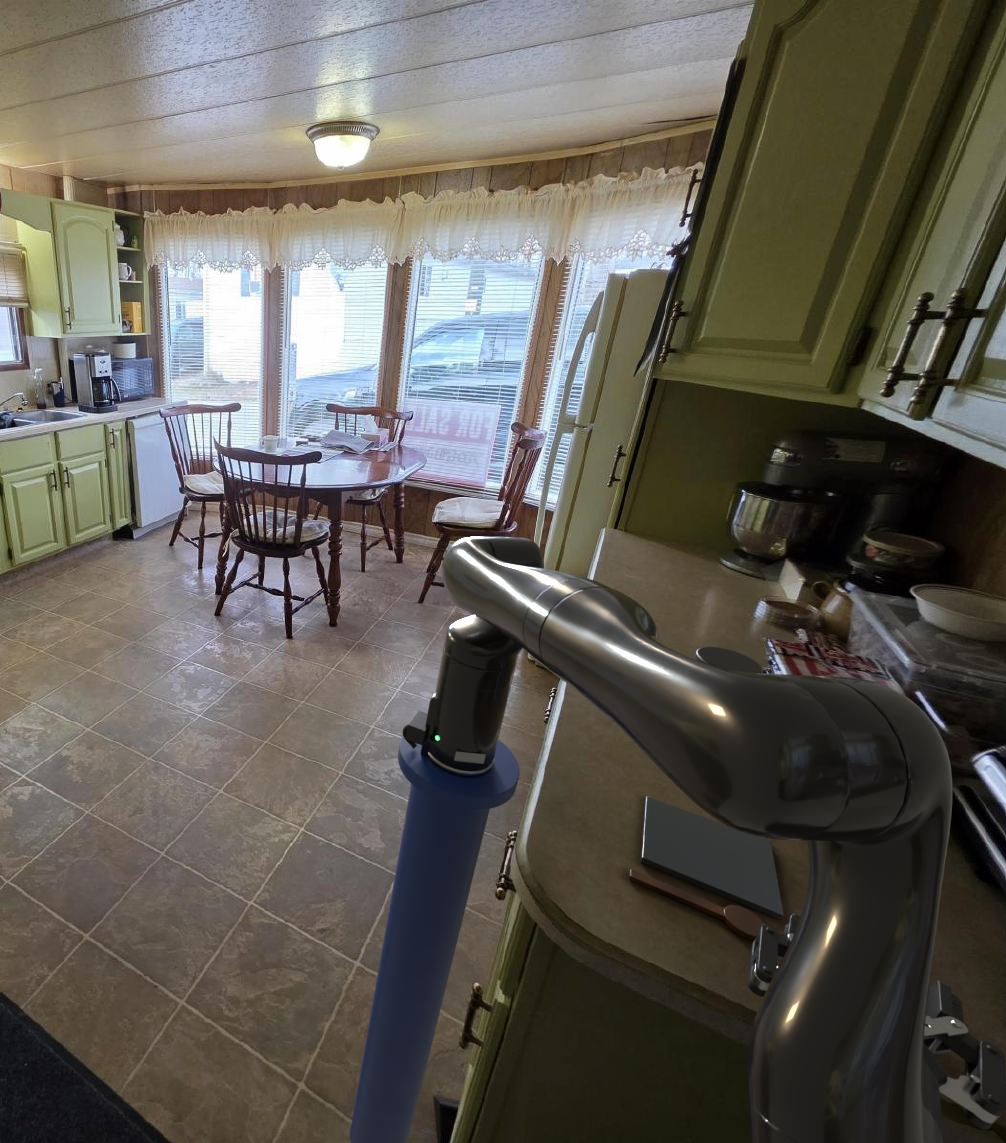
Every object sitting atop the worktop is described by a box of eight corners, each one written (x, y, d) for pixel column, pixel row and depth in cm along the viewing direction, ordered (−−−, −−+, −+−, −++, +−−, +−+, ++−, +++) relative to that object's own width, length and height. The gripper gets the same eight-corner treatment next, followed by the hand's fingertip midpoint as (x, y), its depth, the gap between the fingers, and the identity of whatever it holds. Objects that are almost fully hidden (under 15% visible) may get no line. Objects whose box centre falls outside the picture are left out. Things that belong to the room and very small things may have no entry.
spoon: (627, 887, 68) (629, 882, 68) (629, 865, 71) (631, 860, 70) (766, 947, 62) (768, 942, 61) (762, 920, 65) (764, 916, 64)
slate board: (640, 862, 71) (642, 857, 71) (644, 800, 80) (646, 796, 80) (781, 920, 65) (784, 915, 64) (768, 846, 74) (771, 841, 74)
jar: (705, 745, 91) (732, 678, 87) (658, 713, 99) (681, 649, 94) (750, 736, 94) (779, 670, 89) (701, 706, 101) (725, 643, 96)
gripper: (1050, 1177, 36) (1014, 984, 47) (753, 998, 45) (779, 871, 56) (986, 1238, 39) (965, 1043, 50) (719, 1059, 48) (750, 927, 59)
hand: (867, 952), depth 53 cm, fingers open, 8 cm apart
